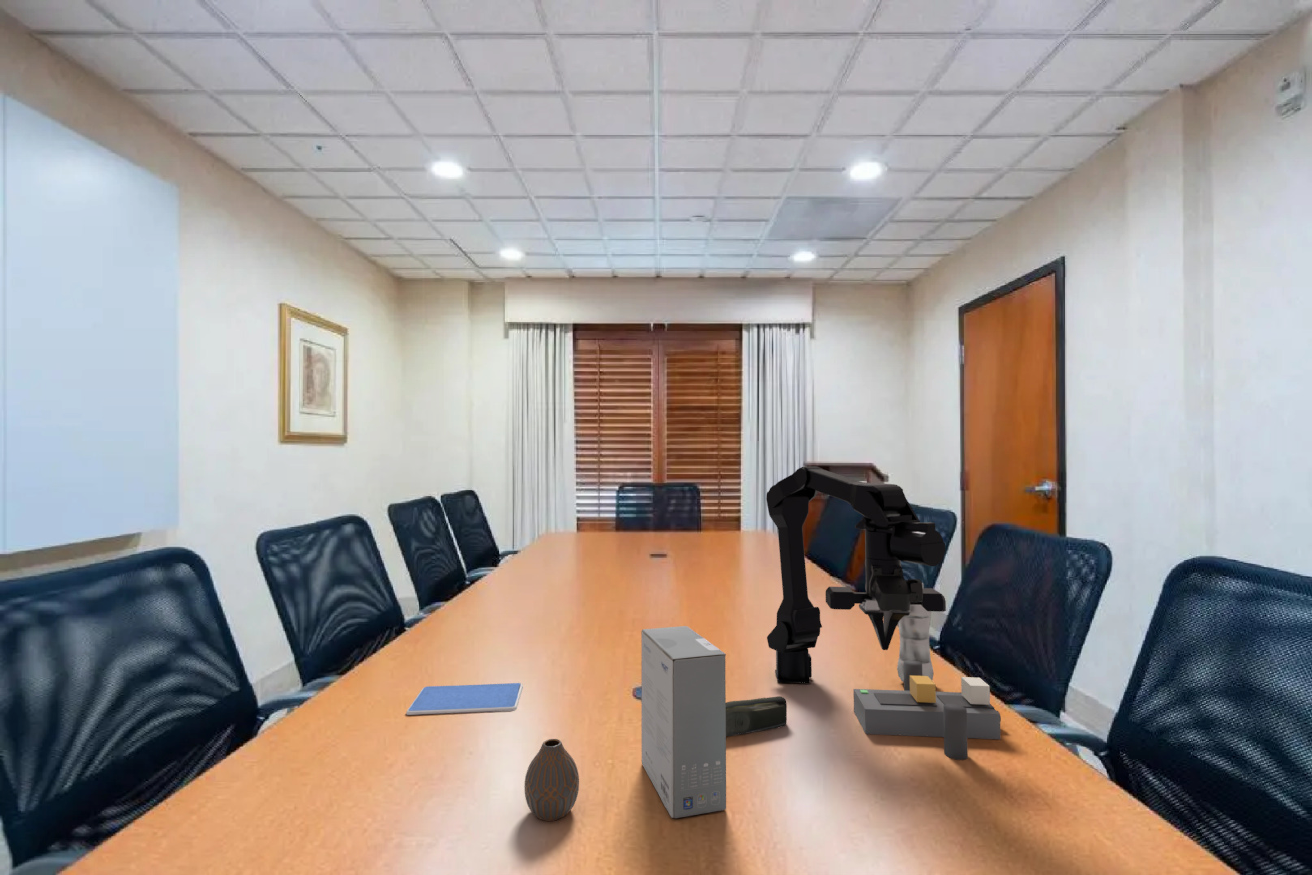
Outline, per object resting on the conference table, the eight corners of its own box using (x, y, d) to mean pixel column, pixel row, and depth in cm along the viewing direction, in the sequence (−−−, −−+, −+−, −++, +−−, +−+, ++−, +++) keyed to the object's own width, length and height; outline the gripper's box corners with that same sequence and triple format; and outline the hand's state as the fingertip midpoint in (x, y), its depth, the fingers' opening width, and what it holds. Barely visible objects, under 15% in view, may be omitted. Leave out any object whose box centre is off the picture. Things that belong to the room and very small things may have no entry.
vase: (527, 798, 83) (528, 731, 83) (580, 796, 83) (580, 729, 84) (520, 829, 76) (521, 756, 76) (577, 826, 76) (577, 754, 77)
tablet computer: (523, 687, 124) (523, 681, 124) (516, 713, 112) (516, 706, 112) (423, 692, 122) (423, 685, 122) (404, 719, 109) (404, 711, 110)
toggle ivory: (970, 703, 102) (970, 685, 103) (961, 694, 106) (961, 676, 107) (989, 704, 102) (989, 686, 102) (979, 695, 106) (979, 677, 106)
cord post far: (907, 704, 114) (906, 665, 114) (902, 697, 117) (901, 659, 117) (925, 704, 114) (924, 666, 114) (919, 698, 117) (919, 660, 117)
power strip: (865, 733, 102) (865, 707, 102) (853, 711, 111) (853, 687, 111) (1011, 739, 99) (1010, 713, 99) (987, 716, 108) (986, 692, 108)
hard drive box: (728, 811, 79) (727, 654, 80) (671, 822, 77) (671, 659, 78) (688, 756, 94) (687, 623, 95) (639, 763, 92) (639, 627, 93)
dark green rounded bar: (780, 692, 108) (703, 704, 102) (790, 698, 105) (712, 710, 99) (779, 721, 108) (703, 735, 102) (790, 728, 105) (712, 742, 99)
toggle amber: (917, 702, 103) (916, 683, 103) (909, 692, 107) (909, 675, 107) (935, 702, 103) (935, 684, 103) (927, 693, 107) (927, 675, 107)
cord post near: (948, 759, 93) (947, 711, 93) (941, 749, 96) (940, 703, 96) (971, 760, 93) (970, 712, 93) (962, 750, 96) (961, 704, 96)
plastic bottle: (937, 691, 120) (935, 586, 121) (900, 688, 121) (898, 585, 122) (929, 679, 126) (927, 580, 127) (894, 677, 128) (892, 579, 128)
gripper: (835, 564, 100) (837, 663, 99) (957, 566, 98) (959, 666, 97) (824, 554, 111) (825, 642, 110) (933, 555, 109) (935, 645, 108)
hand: (884, 649), depth 106 cm, fingers closed
